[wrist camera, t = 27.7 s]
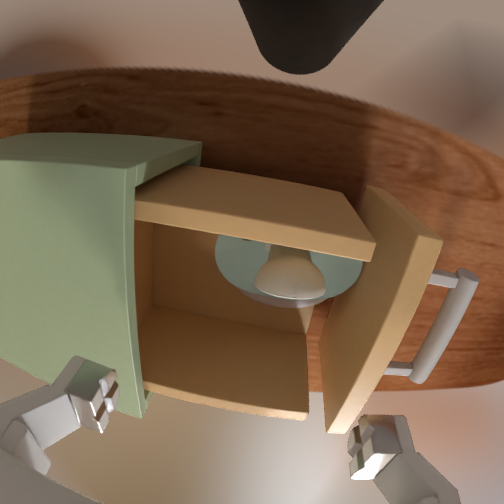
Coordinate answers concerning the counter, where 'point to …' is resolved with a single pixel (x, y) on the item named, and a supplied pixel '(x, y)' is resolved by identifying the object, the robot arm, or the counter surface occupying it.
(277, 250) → the pacifier
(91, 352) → the cabinet
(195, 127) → the counter surface
